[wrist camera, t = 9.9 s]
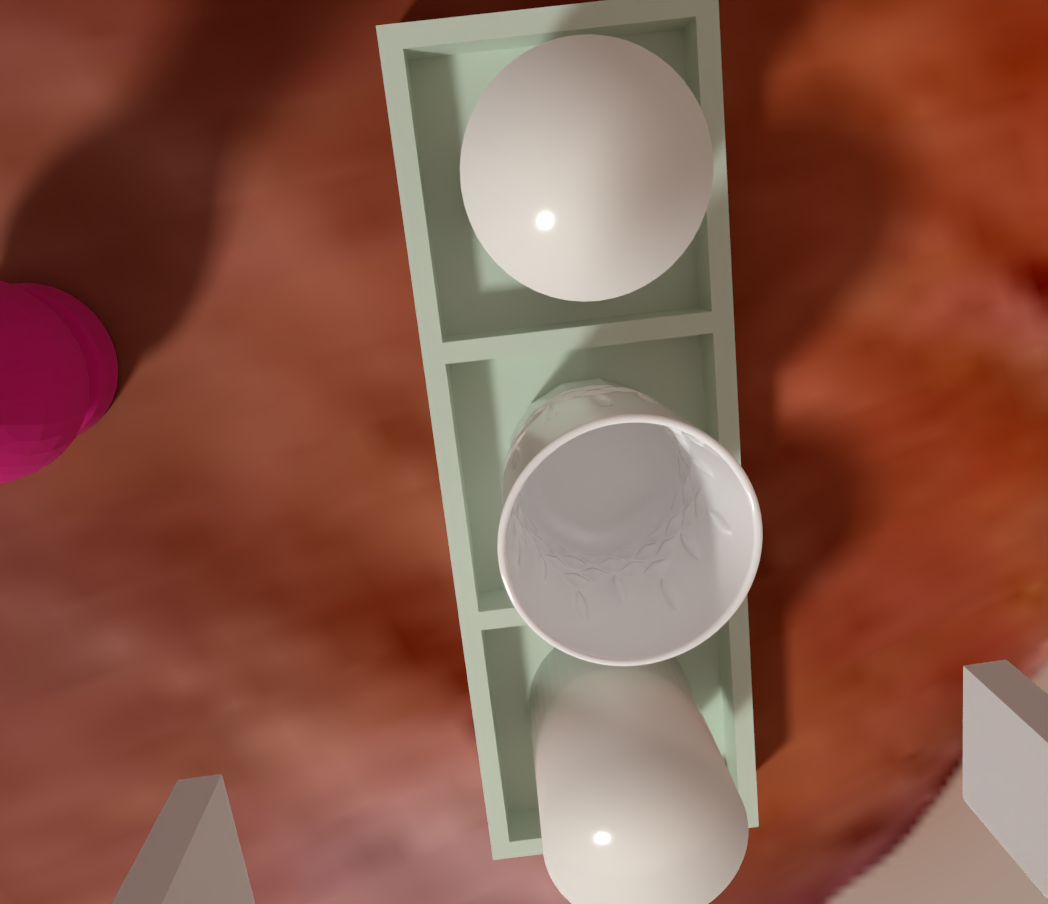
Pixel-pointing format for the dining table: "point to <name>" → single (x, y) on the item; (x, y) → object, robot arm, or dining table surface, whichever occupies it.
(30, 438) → the pepper mill
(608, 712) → the white capsule
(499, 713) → the caddy
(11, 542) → the dining table surface
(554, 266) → the white round cylinder
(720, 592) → the white cup
